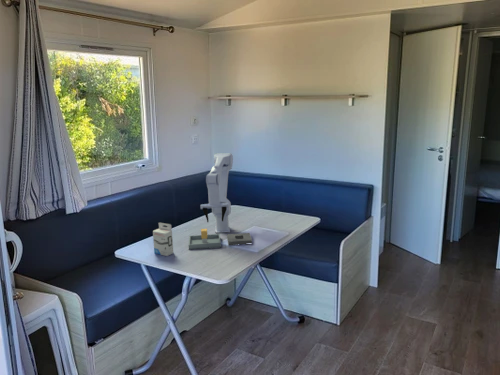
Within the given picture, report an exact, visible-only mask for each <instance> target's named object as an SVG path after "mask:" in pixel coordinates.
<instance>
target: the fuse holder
mask: <svg viewBox="0 0 500 375" xmlns="http://www.w3.org/2000/svg"><path fill="white" fill-rule="evenodd" d="M226 238H227V244H228V246H239V245H238V244H245V245H247V244H246V243H252V244H253V240H252V236H251V234H250V232H247V233H246V232H245V233H241V232H240V233H229V234H227V235H226Z"/></svg>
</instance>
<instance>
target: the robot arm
mask: <svg viewBox="0 0 500 375" xmlns="http://www.w3.org/2000/svg"><path fill="white" fill-rule="evenodd" d="M233 160H234V157H233V153H232V152H229V153H226V152H225V153H224V152H223V153H217V152H216V153H214V155H213V162H214V165H213V166H212V167H211V170H210V172H209V173H207V174H206V176H205V183H206V187H207V188H206V189H207V194H208V196H207V197H208V203H204V204H203V203H202V204H200V210H202V212H203V215H204V216H205V218H206V222H207V223H209V215H208V214H209V212H208V210H209V209H211V213H212V215H214V216H213V217H215V227H214V230H215V234H221V233H222V234H223V233H231V230H230V226H229V225H230V224H229V216H230V214H231V211H232V203H231V201H230V200H229V199H228V198H227V197H228V196H227V195H228V194H227V193H228V183H229V181H228V180H229V173H230V170H232V169H233V163H234V161H233Z"/></svg>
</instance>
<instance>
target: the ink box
mask: <svg viewBox="0 0 500 375" xmlns="http://www.w3.org/2000/svg"><path fill="white" fill-rule="evenodd" d="M172 229H173V228H172V224H171V223H164V222H158V228H156V229H154V230H152V239H153V252H154V254H155V255H160V256H165V257H169V256H171V255H172V254H174V241H173V230H172Z"/></svg>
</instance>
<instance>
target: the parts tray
mask: <svg viewBox="0 0 500 375" xmlns="http://www.w3.org/2000/svg"><path fill="white" fill-rule="evenodd" d="M221 247H222V242H221V233H215V234H214V233H212V234H211V233H210V234H207V243H202V238H201V234H199V235H197V234H195V235H189V236H188V250H200V249H201V250H202V249H203V250H204V249H205V250H206V249H217V248H221Z"/></svg>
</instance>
